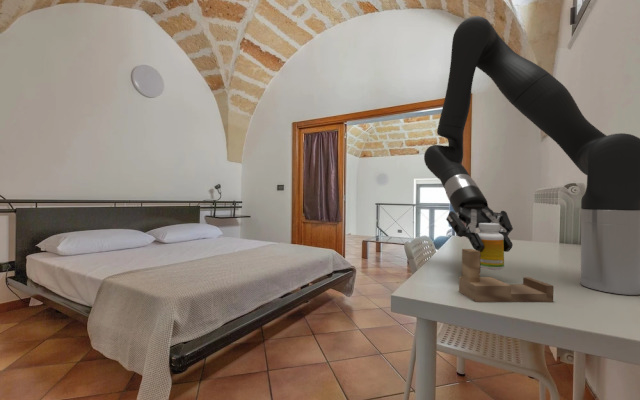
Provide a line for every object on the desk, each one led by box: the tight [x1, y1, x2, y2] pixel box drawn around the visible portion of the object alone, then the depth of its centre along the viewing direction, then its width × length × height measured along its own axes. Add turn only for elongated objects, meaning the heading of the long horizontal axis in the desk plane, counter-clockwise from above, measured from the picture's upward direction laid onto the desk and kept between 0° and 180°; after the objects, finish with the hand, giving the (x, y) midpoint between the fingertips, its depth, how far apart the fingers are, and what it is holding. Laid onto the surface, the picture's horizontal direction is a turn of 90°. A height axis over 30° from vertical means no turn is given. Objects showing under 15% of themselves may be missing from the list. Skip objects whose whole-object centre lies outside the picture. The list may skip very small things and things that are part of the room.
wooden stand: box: [458, 248, 554, 303], centre depth 55 cm, size 15×6×9 cm, turn 91°
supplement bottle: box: [477, 223, 505, 271], centre depth 61 cm, size 5×5×10 cm
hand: (494, 249), depth 60 cm, fingers closed on supplement bottle, 5 cm apart
